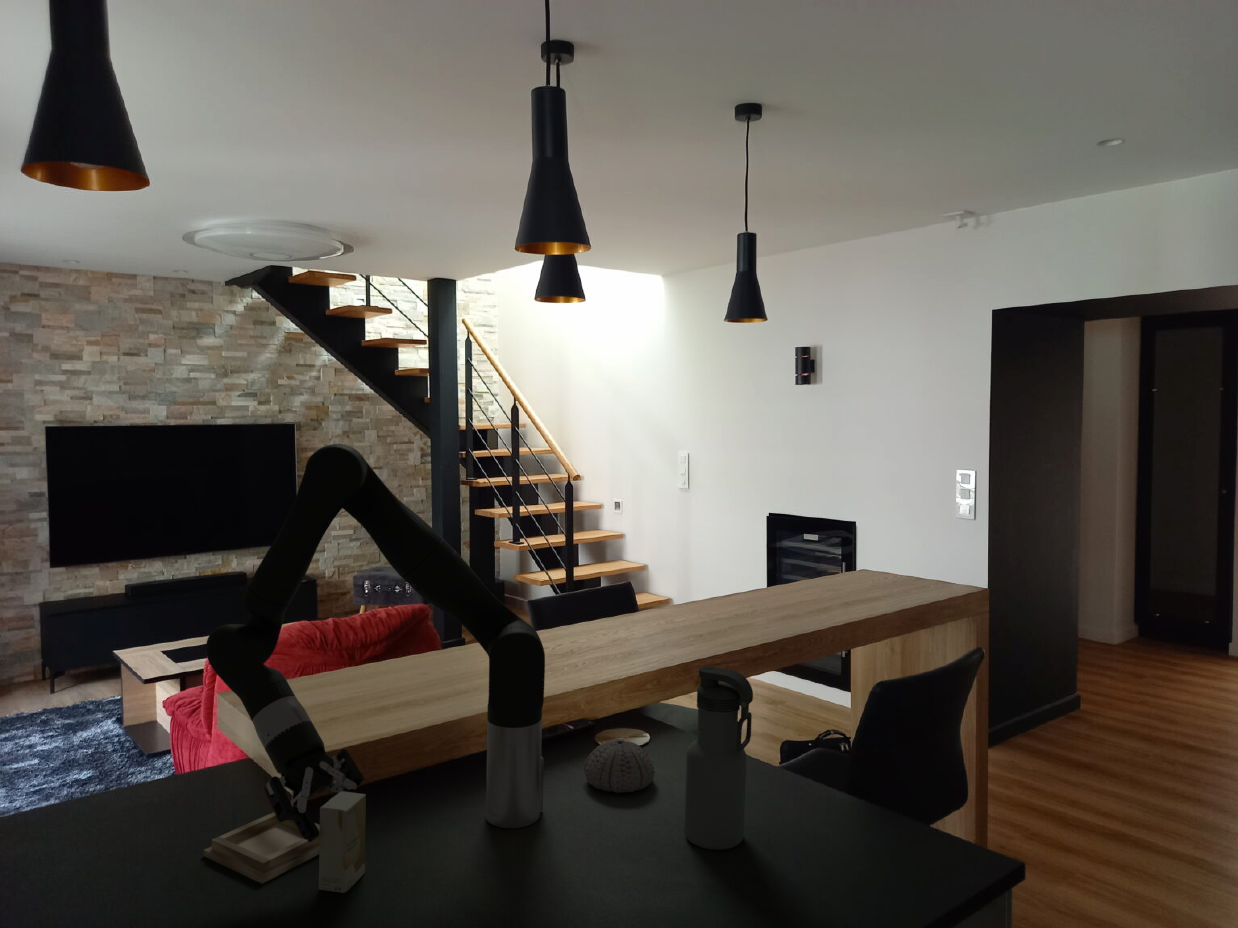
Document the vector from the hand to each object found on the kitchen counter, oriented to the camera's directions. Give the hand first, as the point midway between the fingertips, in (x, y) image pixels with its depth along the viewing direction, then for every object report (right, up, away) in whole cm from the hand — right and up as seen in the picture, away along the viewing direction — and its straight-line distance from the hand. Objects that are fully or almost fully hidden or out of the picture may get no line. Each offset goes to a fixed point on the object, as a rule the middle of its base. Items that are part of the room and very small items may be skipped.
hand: (338, 826), depth 129 cm
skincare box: (+1, -8, 0) cm, 8 cm away
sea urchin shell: (+41, -7, +36) cm, 55 cm away
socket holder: (-13, -7, +8) cm, 17 cm away
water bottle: (+57, -8, +16) cm, 60 cm away
